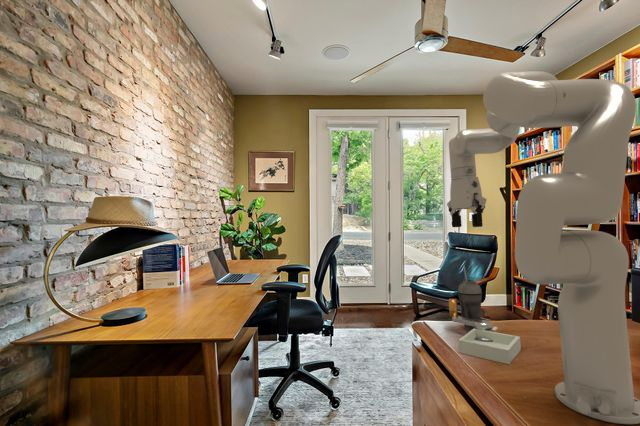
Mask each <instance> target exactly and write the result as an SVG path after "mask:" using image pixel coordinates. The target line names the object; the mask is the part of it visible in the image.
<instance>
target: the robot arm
mask: <svg viewBox="0 0 640 426" xmlns="http://www.w3.org/2000/svg"><path fill="white" fill-rule="evenodd" d="M632 91H633V90H631V88H629V87H628V86H627V85H625V84H623V83H621V82H619V81H615V80H610V79H602V78H601V79H600V78H599V79H598V78H583V79H582V78H578V79H560V80H559V79H558V78H557V77H556V76H555V75H554V74H552V73H550V72H546V71H540V70H539V71H538V70H537V71H536V70H535V71H533V70H532V71H531V70H530V71H506V72H501V73H499V74H497V75H496V76H494V77H493V78H492V79H490V80H489V83H487V85H486V87H485V89H484V93H483V97H482V101H483V106H484V107H485V109H486V114H485V115H486V117H485V119H486V123H487V125H488V126H489V128H488V127H487V128H467V129H462V130H460V131H459V132H457V133H456V135H455V137H453V138H451V139H450V140H449V142H448V152H449V166H450V167H449V169H450V188H449V189H450V195H449V196H450V197H449V198H450V199H449V201H448V202H447V204H446V205H447V207H448V211H449V215H450V216H451V226H452V228H462V227H463V226H462V215H461V212H462V210H470V211H471V212H472V214H471V224H472V228H480V227H481V228H482V227H483V214H484V210H485V208H486V204H487V198H486V197H484V196H483V193H482V187H481V183H480V180H479V177H478V176H477V167H476V155H478V154H479V155H487V154H488V155H489V154H492V155H493V154H496V153H500V152H502V151H504V150H505V149H507V148H508V147H510V146H511V145H513V144H514V143H515V141H517V138H518V136H519V132H520V128H525V129H542V128H543V129H544V128H561V127H562V128H564V127H577V129H576V130H575V132H574V133H573V134H572V135H571V136H570V138H569V140H568V141H567V143H566V145H565V147H564V151H563V163H562V169H561V172H558V173H545V174H538V175H536V176H533V177H532V178H530V179H528V180H527V182H525V184H524V185H523V186H522V188H521V190H520V192H519V194H518V197H517V204H516V219H515V239H514V259H515V264H516V268H517V270H518V272H519V274H520V275H521V276H522V277H523V278H524V279H525V280H526V281H528V282H530V283H532V284H536V285H560V284H561V285H563V286H562V288H561V290H560V291H559V295H558V301H557V309H558V310H557V312H558V314H557V315H558V323H559V324H558V325H559V336H560V346H561V347H560V349H561V350H560V351H561V360H562V371H563V372H562V373H563V380H564V381H561V382H558V383H557V384H556V385H555V387H554V394H555V396H556V398H557V399H558V400H559V402H561V403H562V404H563V405H565V406H566V407H567V408H569V409H571V410H573V411H575V412H577V413H578V414H581V415H584V416H587V417H589V418H592V419H595V420H599V421H601V422H602V421H603V422H608V423H612V424H620V425H637V424H640V400H639V399H638V398H637V397H635V395H634V384H633V374H632V364H631V355H630V353H631V352H630V343H629V334H628V333H629V331H628V323H627V321H628V320H627V311H626V285H627V284H626V283H627V278H628V272H629V266H630V260H629V259H630V258H629V254H628V251H627V248H626V246H625V245H624V244H623V242H622V241H621V240H620V239H618V238H617V237H616V236H614V235H612V234H611V233H608V232H605V231H599V230H593V229H591V230H589V229H587V230H585V229H584V230H567V231H563V227H565V226H579V225H580V226H581V225H595V224H596V225H597V224H602V223H608V222H610V221H612V220H614V219H615V218H617V216H618V215H619V213H620V211H621V208H622V205H623V200H624V189H625V178H626V169H627V168H626V167H627V162H628V148H629V147H628V146H629V140H630V137H631V133H632V130H633V126H634V123H635V117H636V111H637V101H636V98H635V95H634V93H633V92H632Z"/></svg>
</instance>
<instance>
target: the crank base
mask: <svg viewBox="0 0 640 426" xmlns="http://www.w3.org/2000/svg"><path fill="white" fill-rule="evenodd" d="M485 331H491V330H485ZM468 332H470V331H468V330H467V332H466V333H465V335H466V334H467V333H468ZM491 332H493V331H491ZM475 340H477V341H483V342H493V340H488V339H483V338H478V337H476V338H475Z"/></svg>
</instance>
